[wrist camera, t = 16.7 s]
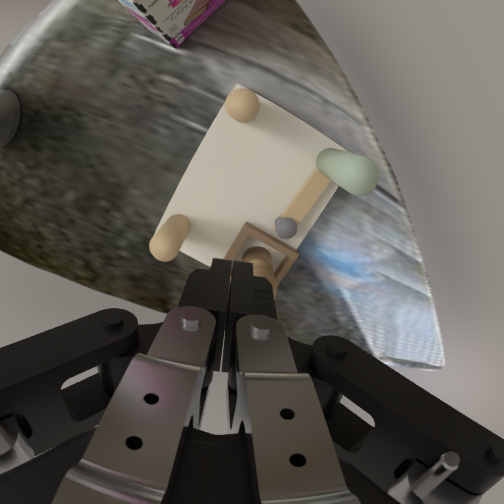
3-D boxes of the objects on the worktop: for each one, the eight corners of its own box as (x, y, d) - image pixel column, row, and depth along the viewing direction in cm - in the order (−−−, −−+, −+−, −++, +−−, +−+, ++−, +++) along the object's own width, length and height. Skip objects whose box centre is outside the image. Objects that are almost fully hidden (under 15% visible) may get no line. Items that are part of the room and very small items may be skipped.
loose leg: (236, 264, 38) (233, 298, 31) (251, 240, 37) (252, 270, 30) (261, 277, 39) (264, 313, 32) (277, 254, 38) (283, 286, 30)
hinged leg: (290, 240, 37) (304, 279, 28) (267, 225, 36) (273, 260, 27) (350, 159, 33) (385, 172, 24) (327, 142, 32) (357, 147, 23)
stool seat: (158, 230, 39) (134, 259, 30) (237, 86, 32) (234, 71, 24) (264, 286, 42) (269, 327, 34) (351, 156, 36) (381, 165, 27)
